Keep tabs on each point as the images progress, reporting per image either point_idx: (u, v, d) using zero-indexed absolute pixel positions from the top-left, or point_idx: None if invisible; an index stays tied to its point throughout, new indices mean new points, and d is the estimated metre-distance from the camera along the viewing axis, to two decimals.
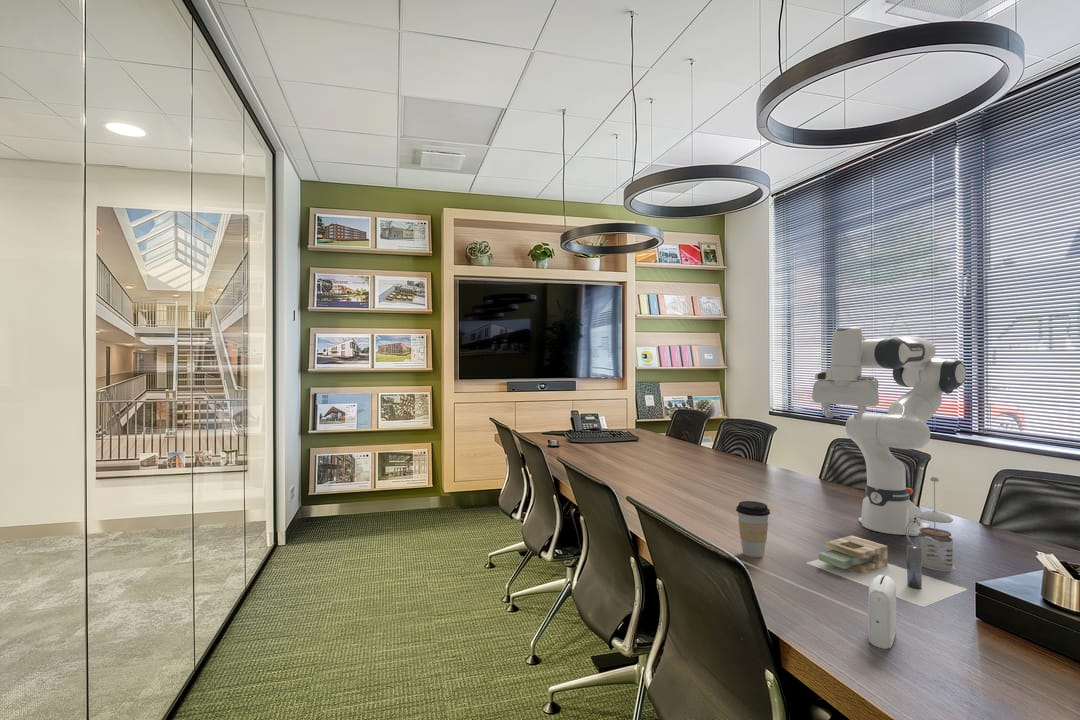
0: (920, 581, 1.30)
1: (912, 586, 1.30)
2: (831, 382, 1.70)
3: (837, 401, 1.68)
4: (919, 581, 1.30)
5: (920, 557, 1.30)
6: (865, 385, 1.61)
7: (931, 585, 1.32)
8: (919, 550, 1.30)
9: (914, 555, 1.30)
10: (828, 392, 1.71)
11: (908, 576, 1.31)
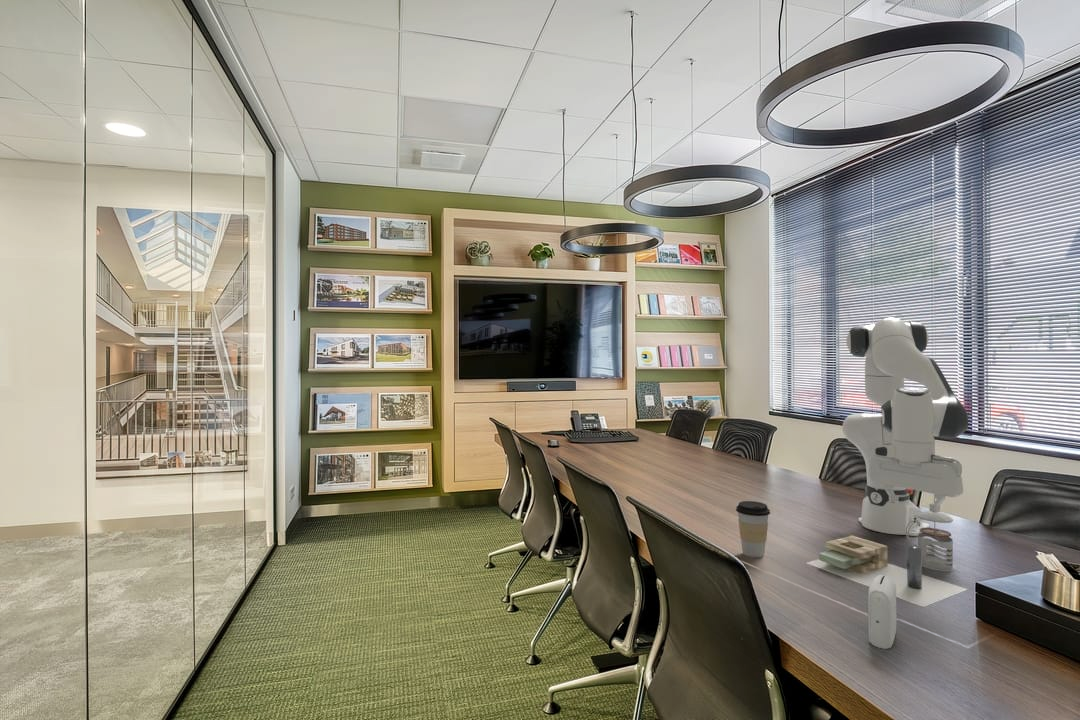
0: (920, 581, 1.30)
1: (912, 586, 1.30)
2: (894, 460, 1.33)
3: (904, 485, 1.31)
4: (919, 581, 1.30)
5: (920, 557, 1.30)
6: (943, 470, 1.24)
7: (931, 585, 1.32)
8: (919, 550, 1.30)
9: (914, 555, 1.30)
10: (891, 472, 1.34)
11: (908, 576, 1.31)
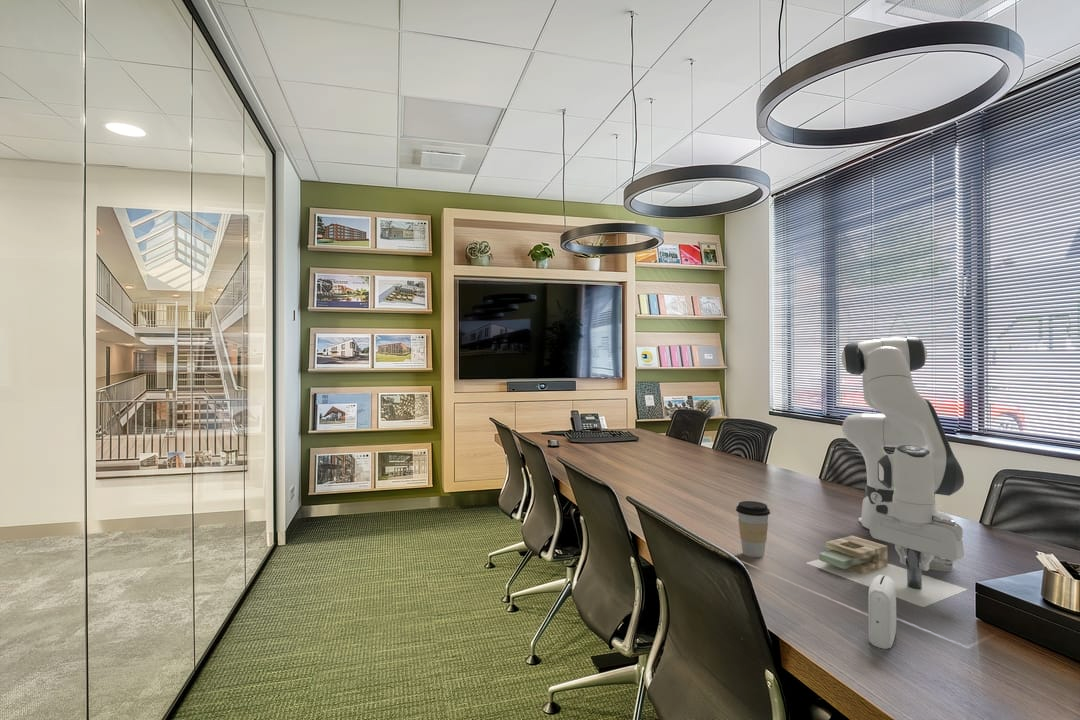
0: (920, 581, 1.30)
1: (912, 586, 1.30)
2: (895, 519, 1.33)
3: (905, 544, 1.31)
4: (919, 581, 1.30)
5: (920, 557, 1.30)
6: (944, 533, 1.24)
7: (931, 585, 1.32)
8: None
9: (914, 555, 1.30)
10: (892, 531, 1.34)
11: (908, 576, 1.31)
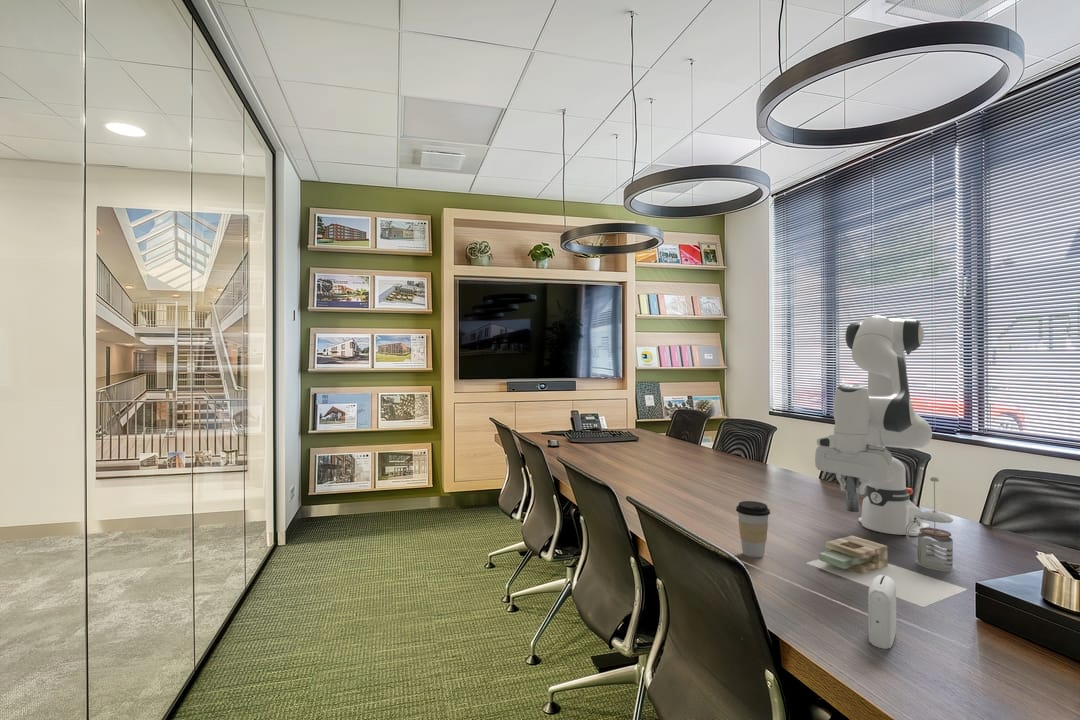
0: (857, 505, 1.44)
1: (850, 509, 1.44)
2: (836, 450, 1.47)
3: (844, 472, 1.45)
4: (856, 505, 1.44)
5: (857, 483, 1.44)
6: (876, 458, 1.38)
7: (931, 585, 1.32)
8: None
9: (852, 481, 1.44)
10: (833, 461, 1.48)
11: (847, 501, 1.45)
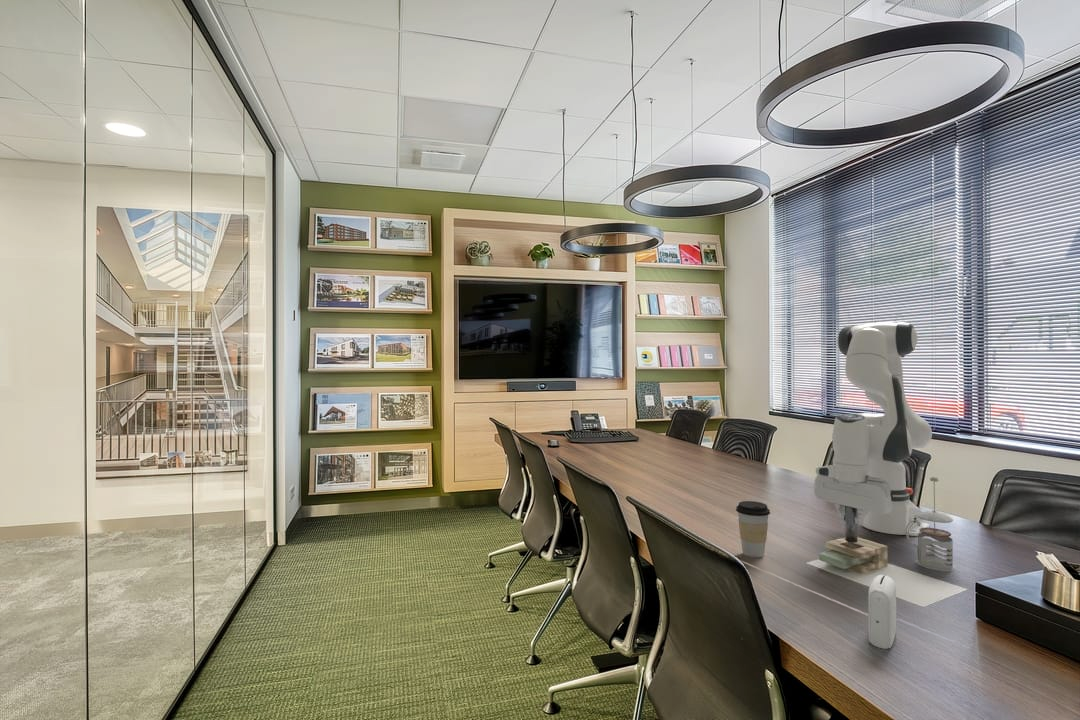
0: (856, 535, 1.44)
1: (849, 540, 1.44)
2: (835, 480, 1.47)
3: (843, 502, 1.46)
4: (855, 535, 1.44)
5: (856, 513, 1.44)
6: (875, 490, 1.38)
7: (931, 585, 1.32)
8: None
9: (851, 512, 1.44)
10: (832, 491, 1.48)
11: (845, 531, 1.45)
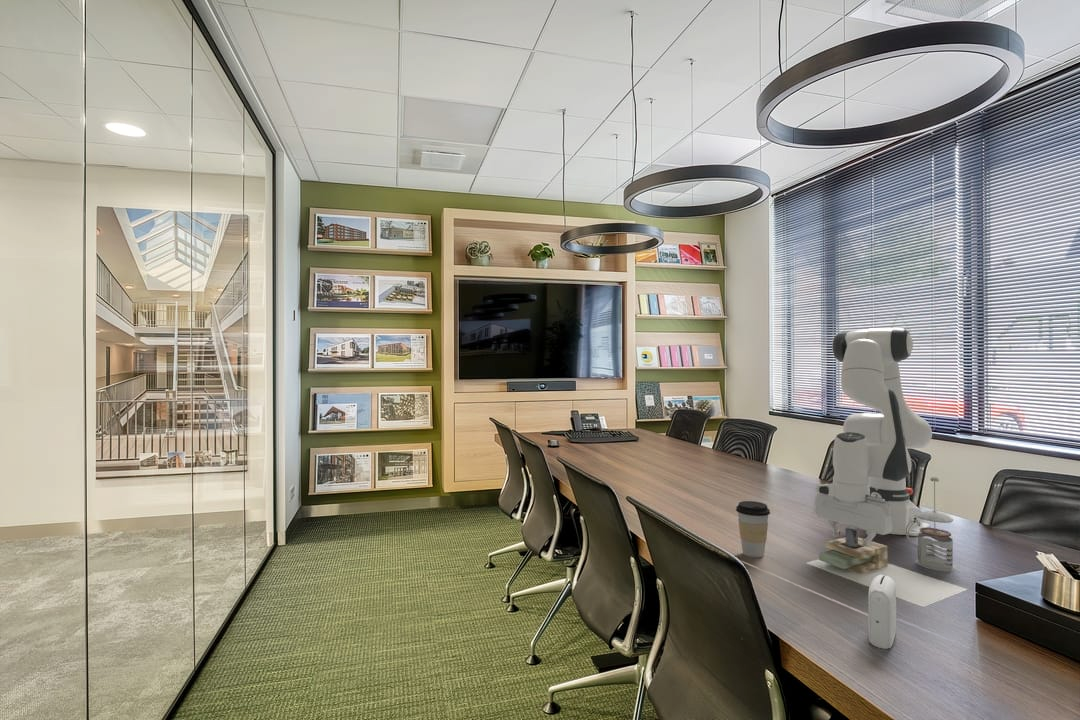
0: None
1: None
2: (835, 498, 1.47)
3: (843, 521, 1.46)
4: None
5: (856, 538, 1.44)
6: (875, 510, 1.38)
7: (931, 585, 1.32)
8: (855, 532, 1.44)
9: (851, 536, 1.44)
10: (833, 509, 1.48)
11: None
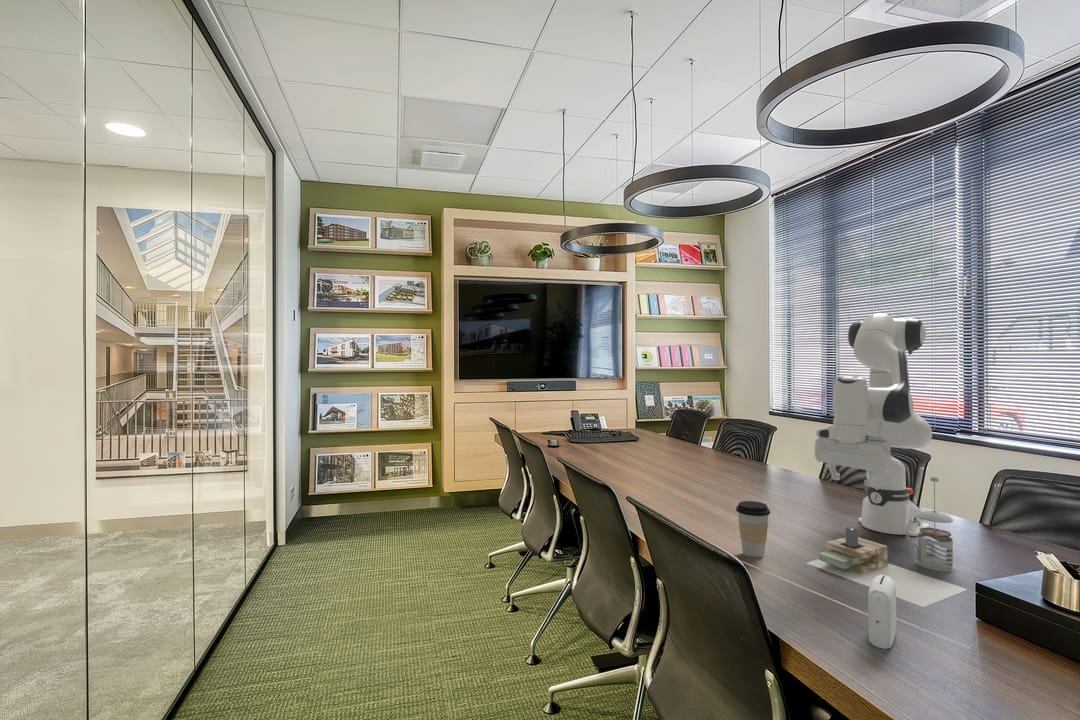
0: None
1: None
2: (835, 441, 1.48)
3: (844, 463, 1.46)
4: None
5: (856, 538, 1.44)
6: (875, 449, 1.39)
7: (931, 585, 1.32)
8: (855, 531, 1.44)
9: (851, 536, 1.44)
10: (833, 452, 1.49)
11: None
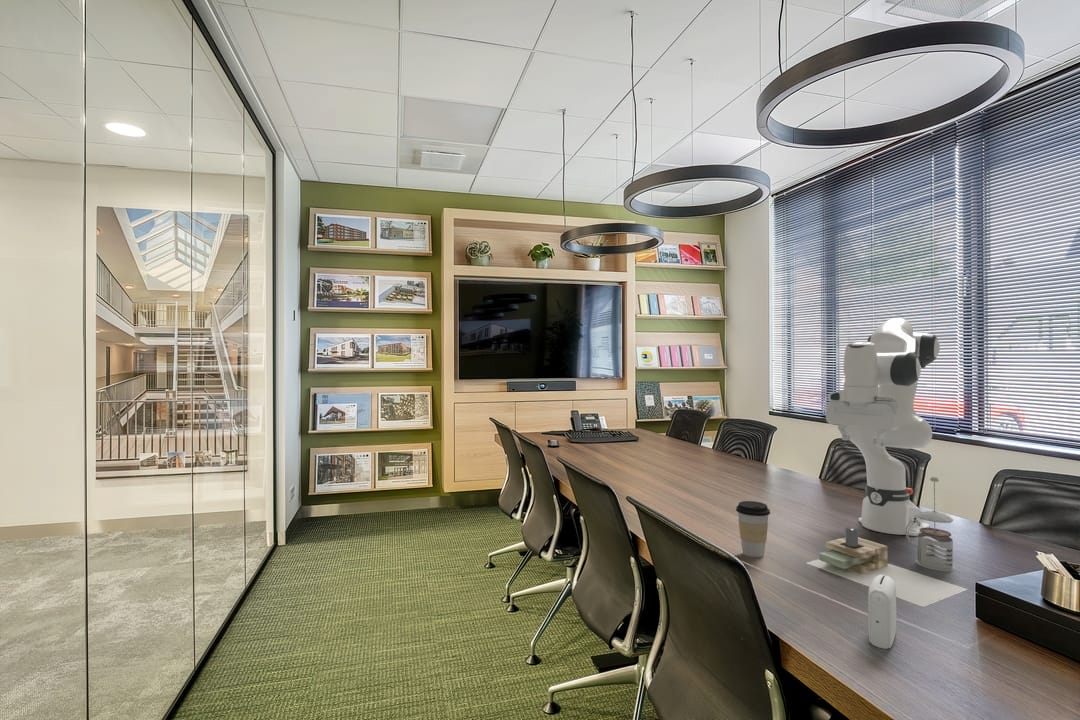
0: None
1: None
2: (846, 403, 1.58)
3: (853, 424, 1.56)
4: None
5: (856, 538, 1.44)
6: (883, 408, 1.48)
7: (931, 585, 1.32)
8: (855, 532, 1.44)
9: (851, 536, 1.44)
10: (843, 414, 1.59)
11: None
